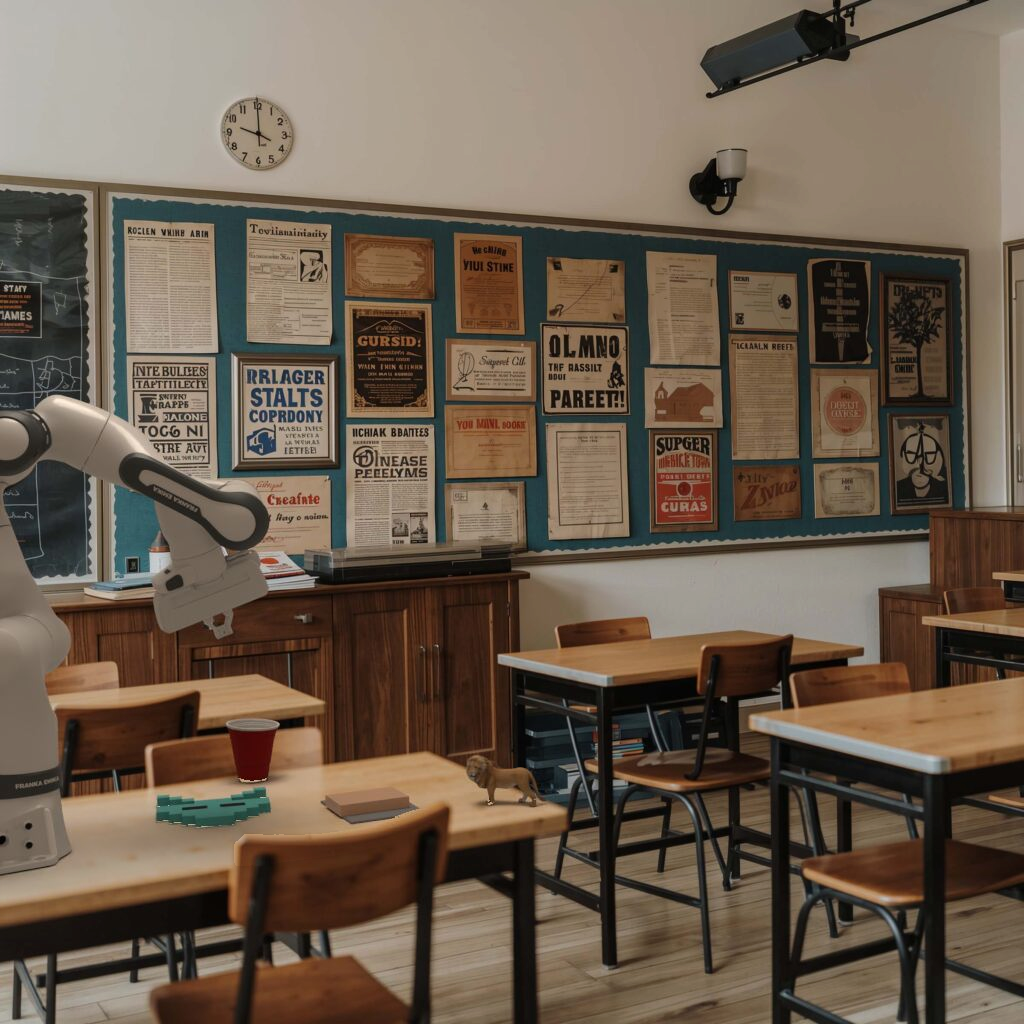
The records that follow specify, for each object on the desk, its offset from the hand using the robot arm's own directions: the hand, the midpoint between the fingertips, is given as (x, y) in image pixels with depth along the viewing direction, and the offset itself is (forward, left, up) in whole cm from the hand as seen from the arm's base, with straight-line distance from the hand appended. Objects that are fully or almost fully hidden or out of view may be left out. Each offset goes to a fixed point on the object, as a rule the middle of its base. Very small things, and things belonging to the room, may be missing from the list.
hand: (224, 635), depth 222 cm
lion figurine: (+37, -33, -33) cm, 60 cm away
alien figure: (-1, +4, -33) cm, 33 cm away
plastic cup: (+19, +21, -33) cm, 43 cm away
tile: (+13, -14, -31) cm, 36 cm away
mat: (+20, -16, -33) cm, 41 cm away
